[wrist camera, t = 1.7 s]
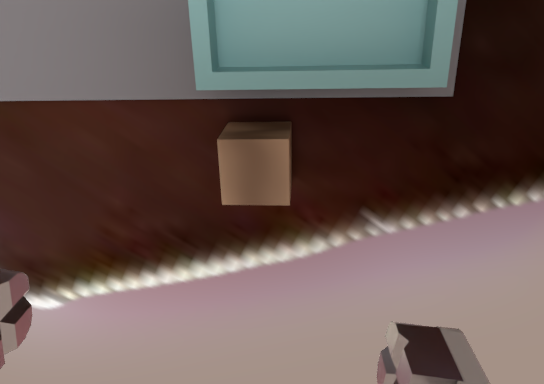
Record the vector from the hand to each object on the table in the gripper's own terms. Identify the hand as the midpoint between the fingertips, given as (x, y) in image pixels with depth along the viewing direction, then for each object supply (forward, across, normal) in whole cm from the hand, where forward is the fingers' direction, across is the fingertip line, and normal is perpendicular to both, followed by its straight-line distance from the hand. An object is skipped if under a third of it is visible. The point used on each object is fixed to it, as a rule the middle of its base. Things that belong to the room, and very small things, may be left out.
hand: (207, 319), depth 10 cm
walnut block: (+23, 0, +3) cm, 23 cm away
